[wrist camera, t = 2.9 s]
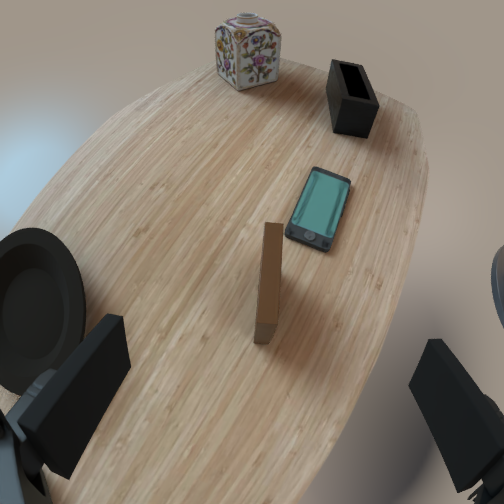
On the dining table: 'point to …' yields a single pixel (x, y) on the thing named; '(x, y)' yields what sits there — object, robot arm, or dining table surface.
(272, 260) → the thin brown wooden plank
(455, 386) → the robot arm
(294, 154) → the dining table surface
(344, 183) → the smartphone
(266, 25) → the decorative jar
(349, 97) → the black open box
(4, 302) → the plate
